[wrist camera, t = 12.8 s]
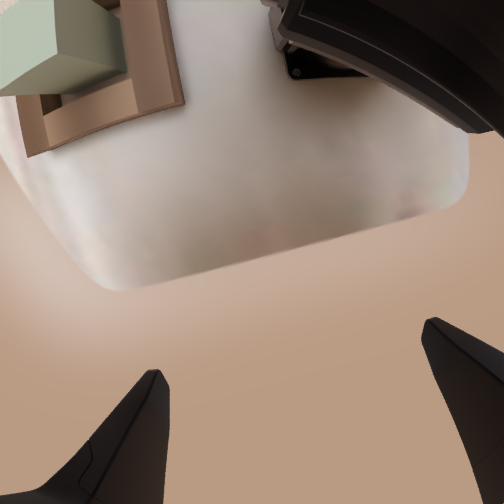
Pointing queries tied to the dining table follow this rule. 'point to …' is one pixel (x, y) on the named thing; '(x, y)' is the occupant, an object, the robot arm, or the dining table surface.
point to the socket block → (111, 83)
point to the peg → (58, 47)
